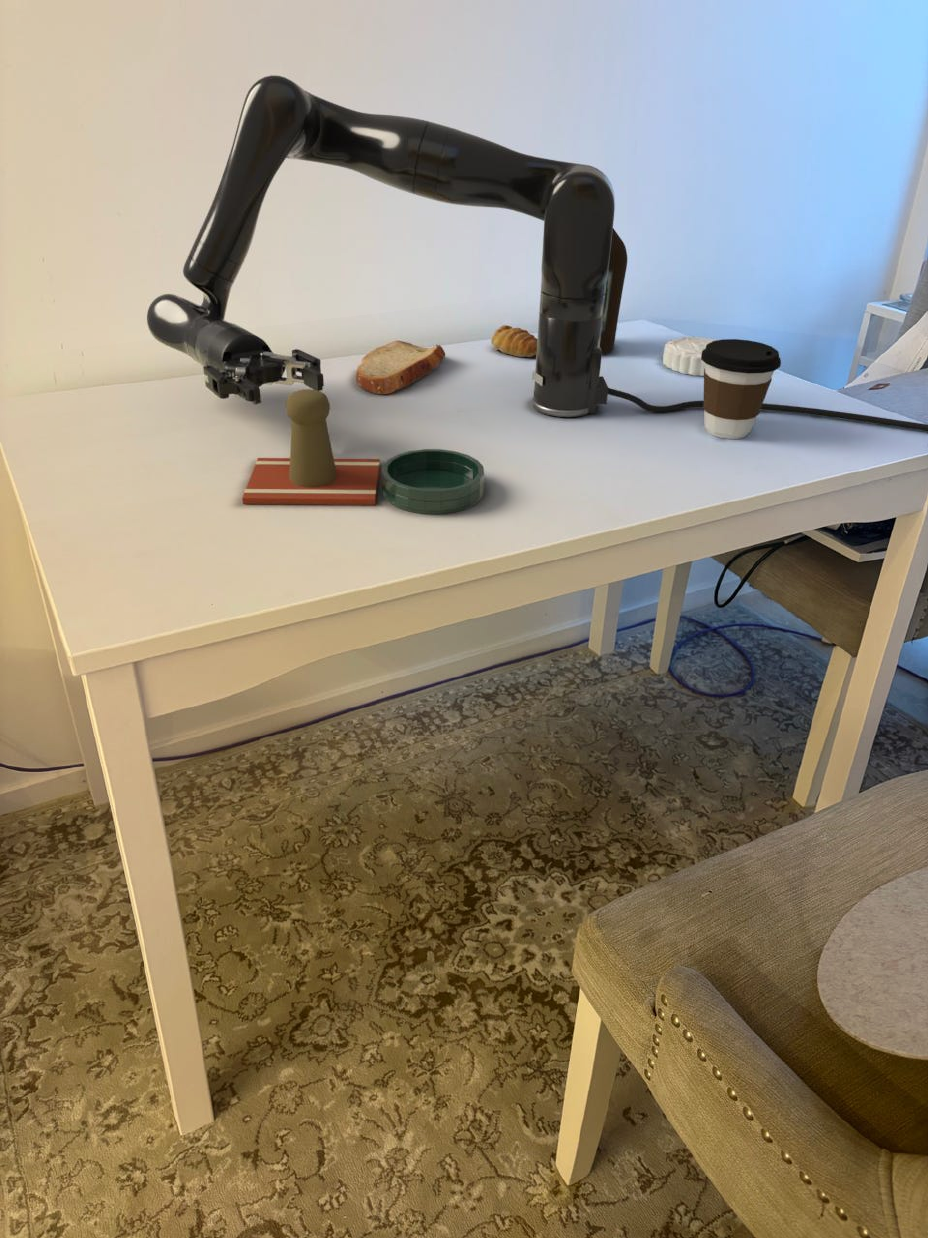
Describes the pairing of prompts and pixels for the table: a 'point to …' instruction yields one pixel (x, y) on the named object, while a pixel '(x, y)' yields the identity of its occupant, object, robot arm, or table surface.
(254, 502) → the towel
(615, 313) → the olive oil
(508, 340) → the pastry
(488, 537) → the table surface
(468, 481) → the dish
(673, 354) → the mooncake
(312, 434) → the cork
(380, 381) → the slice of bread
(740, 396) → the coffee cup
